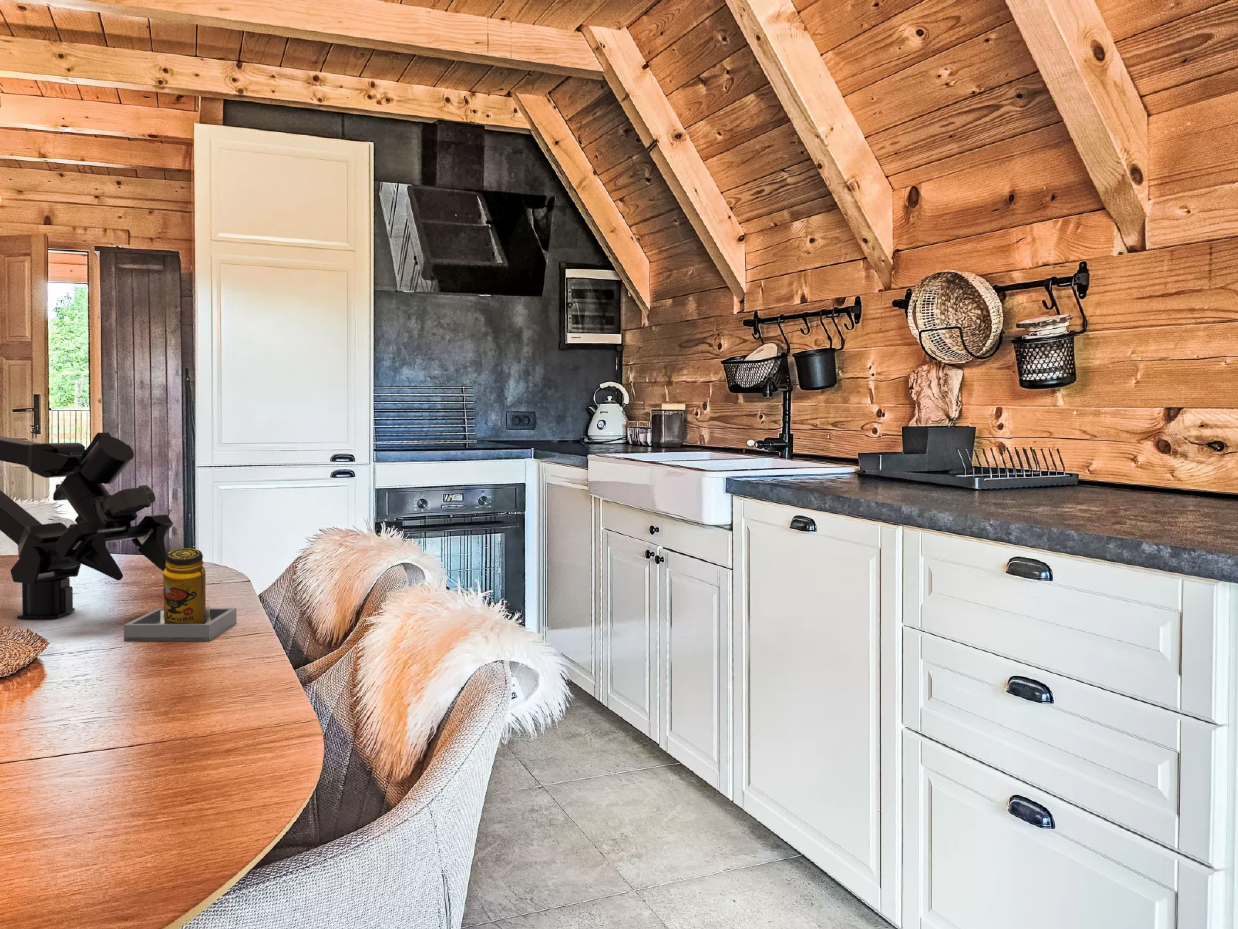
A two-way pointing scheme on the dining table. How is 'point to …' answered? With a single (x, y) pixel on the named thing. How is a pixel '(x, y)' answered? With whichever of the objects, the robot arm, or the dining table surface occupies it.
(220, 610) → the tray
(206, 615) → the condiment
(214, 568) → the dining table surface
